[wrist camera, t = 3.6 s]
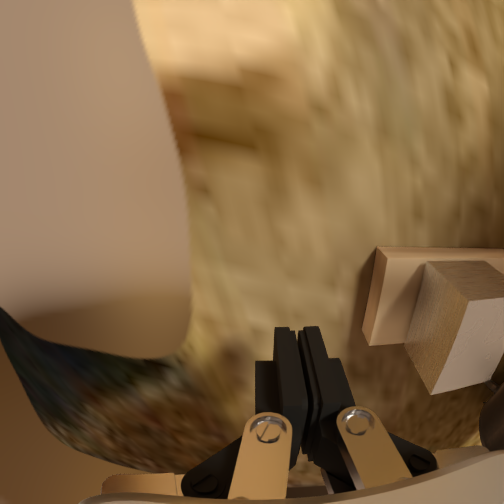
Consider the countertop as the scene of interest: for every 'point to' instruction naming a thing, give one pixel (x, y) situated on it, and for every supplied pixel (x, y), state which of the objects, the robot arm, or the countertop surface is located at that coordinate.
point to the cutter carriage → (457, 324)
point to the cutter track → (408, 286)
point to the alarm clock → (493, 419)
